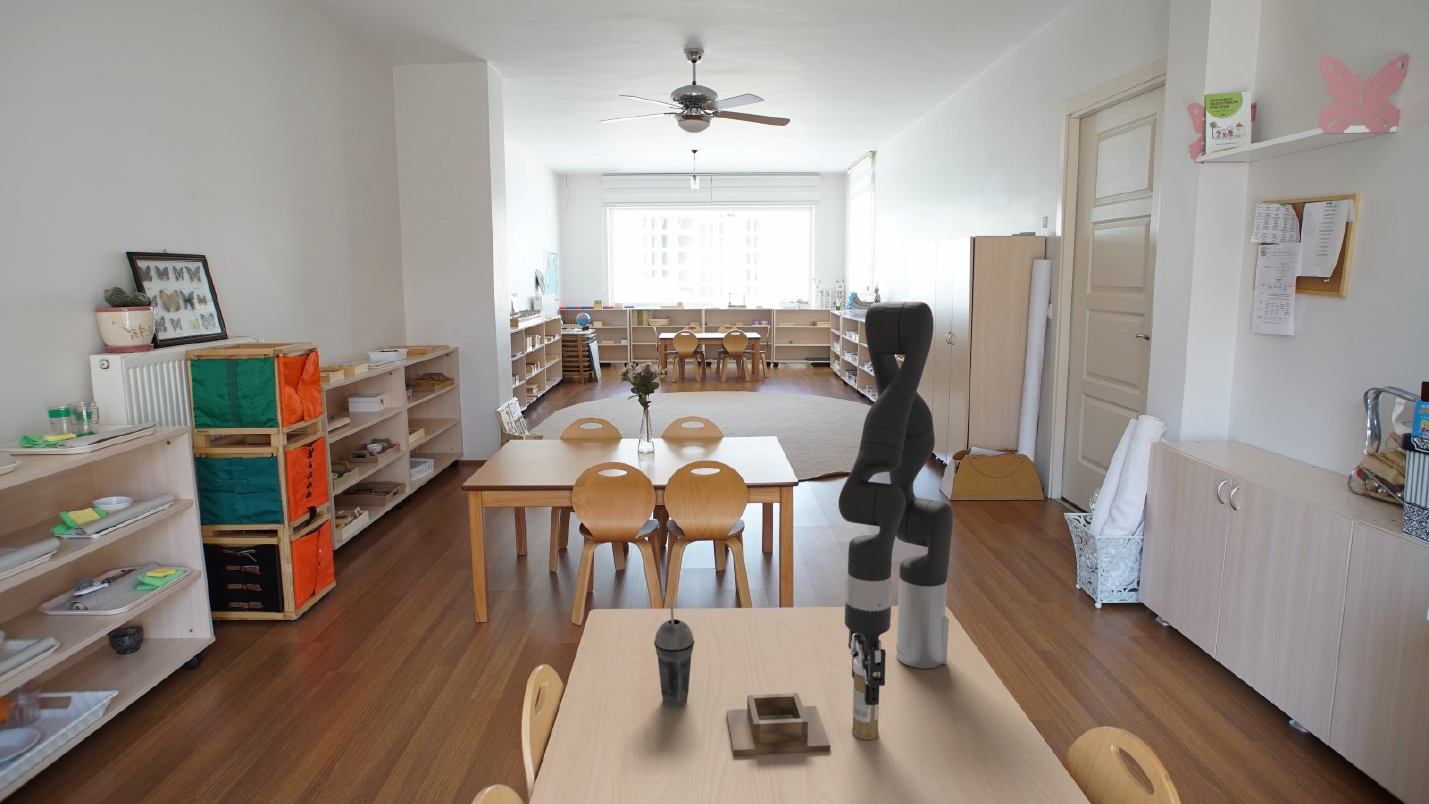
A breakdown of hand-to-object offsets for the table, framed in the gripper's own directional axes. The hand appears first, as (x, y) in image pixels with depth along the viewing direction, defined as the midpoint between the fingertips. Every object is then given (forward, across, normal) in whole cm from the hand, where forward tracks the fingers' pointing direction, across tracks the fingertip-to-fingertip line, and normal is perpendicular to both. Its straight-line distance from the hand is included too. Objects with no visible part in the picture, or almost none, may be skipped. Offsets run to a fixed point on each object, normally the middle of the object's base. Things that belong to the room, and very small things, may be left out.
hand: (864, 690), depth 136 cm
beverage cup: (+8, +13, +32) cm, 35 cm away
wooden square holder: (+8, +2, +15) cm, 17 cm away
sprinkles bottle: (+8, 0, 0) cm, 8 cm away
